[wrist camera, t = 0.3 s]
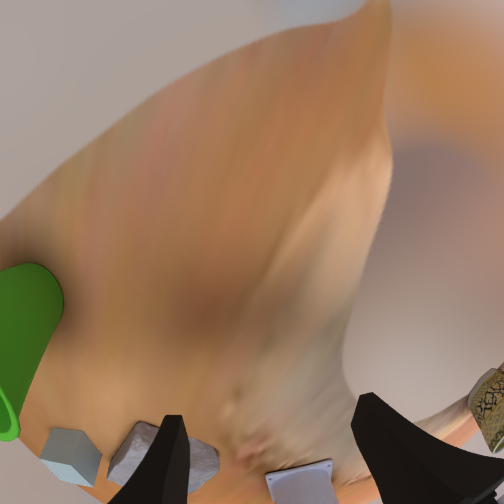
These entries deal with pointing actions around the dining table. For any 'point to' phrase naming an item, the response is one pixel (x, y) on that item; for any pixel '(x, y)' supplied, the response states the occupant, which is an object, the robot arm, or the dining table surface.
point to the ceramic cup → (489, 408)
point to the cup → (23, 335)
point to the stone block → (137, 445)
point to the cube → (71, 456)
